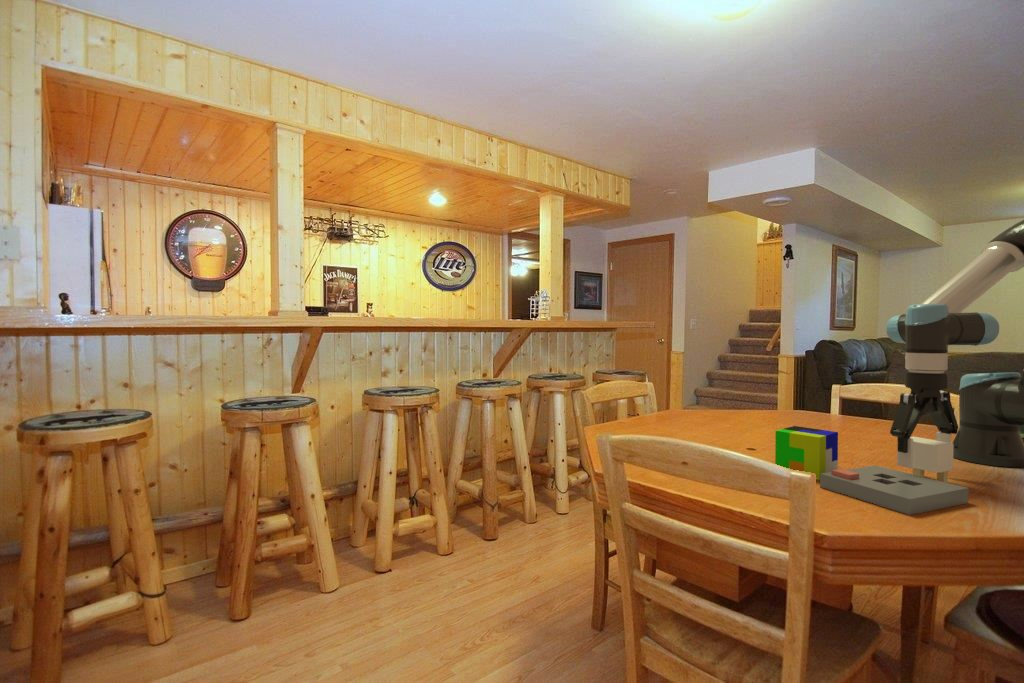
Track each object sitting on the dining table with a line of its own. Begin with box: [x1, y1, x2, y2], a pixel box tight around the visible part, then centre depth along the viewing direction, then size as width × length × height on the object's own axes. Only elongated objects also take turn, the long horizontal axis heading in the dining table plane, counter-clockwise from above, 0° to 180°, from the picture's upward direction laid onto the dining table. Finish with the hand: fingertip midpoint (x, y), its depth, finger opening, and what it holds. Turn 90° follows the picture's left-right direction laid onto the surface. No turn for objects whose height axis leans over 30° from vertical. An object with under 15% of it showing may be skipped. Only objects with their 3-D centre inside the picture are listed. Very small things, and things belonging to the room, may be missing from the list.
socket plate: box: [819, 465, 970, 516], centre depth 105 cm, size 18×18×4 cm
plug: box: [896, 436, 954, 483], centre depth 115 cm, size 6×8×9 cm
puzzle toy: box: [774, 425, 839, 481], centre depth 122 cm, size 10×10×10 cm
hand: (924, 463), depth 115 cm, fingers open, 13 cm apart
